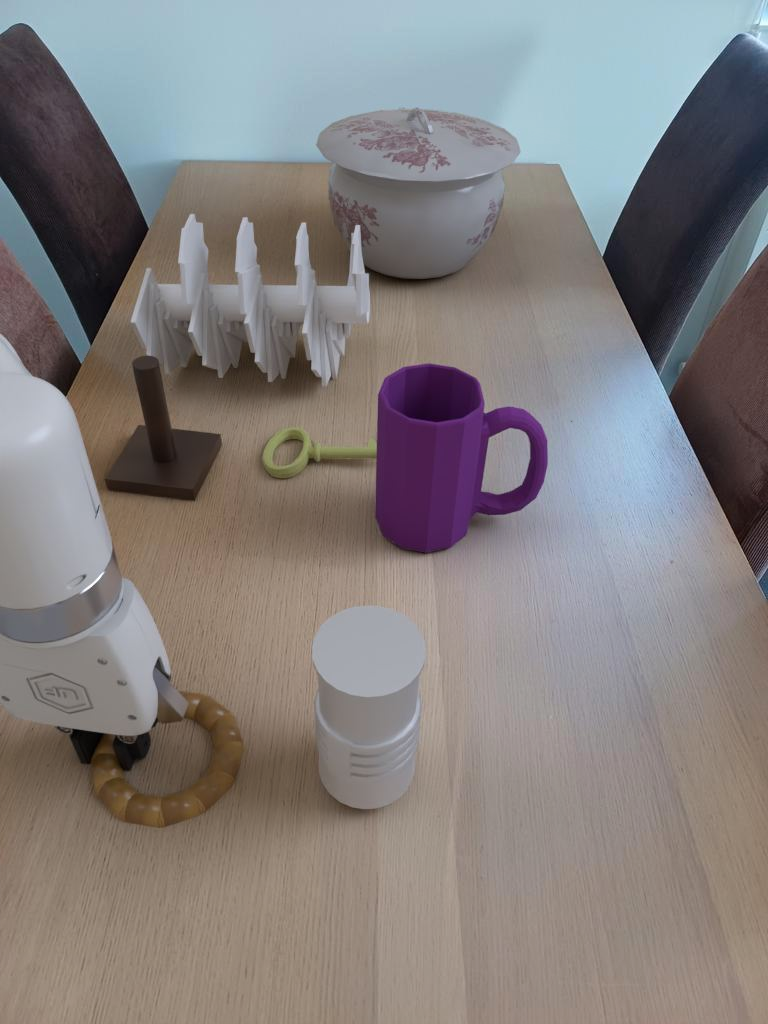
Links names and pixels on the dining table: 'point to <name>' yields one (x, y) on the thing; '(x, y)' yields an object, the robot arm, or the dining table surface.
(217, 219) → the dining table surface
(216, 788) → the ring
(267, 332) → the spiral staircase
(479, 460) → the mug
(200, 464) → the peg stand
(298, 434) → the key
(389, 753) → the white lidded bottle
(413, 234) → the chamber pot
